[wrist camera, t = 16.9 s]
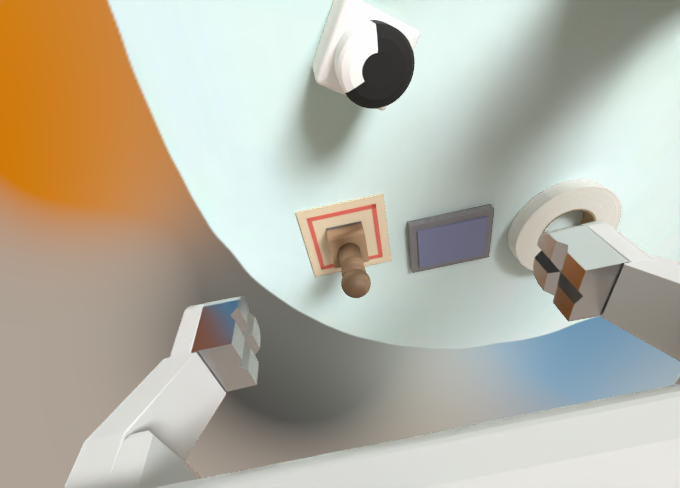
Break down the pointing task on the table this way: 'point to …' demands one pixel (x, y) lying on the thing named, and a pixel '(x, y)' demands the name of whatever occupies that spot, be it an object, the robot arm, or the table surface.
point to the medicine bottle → (365, 54)
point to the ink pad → (450, 238)
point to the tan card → (341, 214)
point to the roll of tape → (554, 204)
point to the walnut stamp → (350, 257)
